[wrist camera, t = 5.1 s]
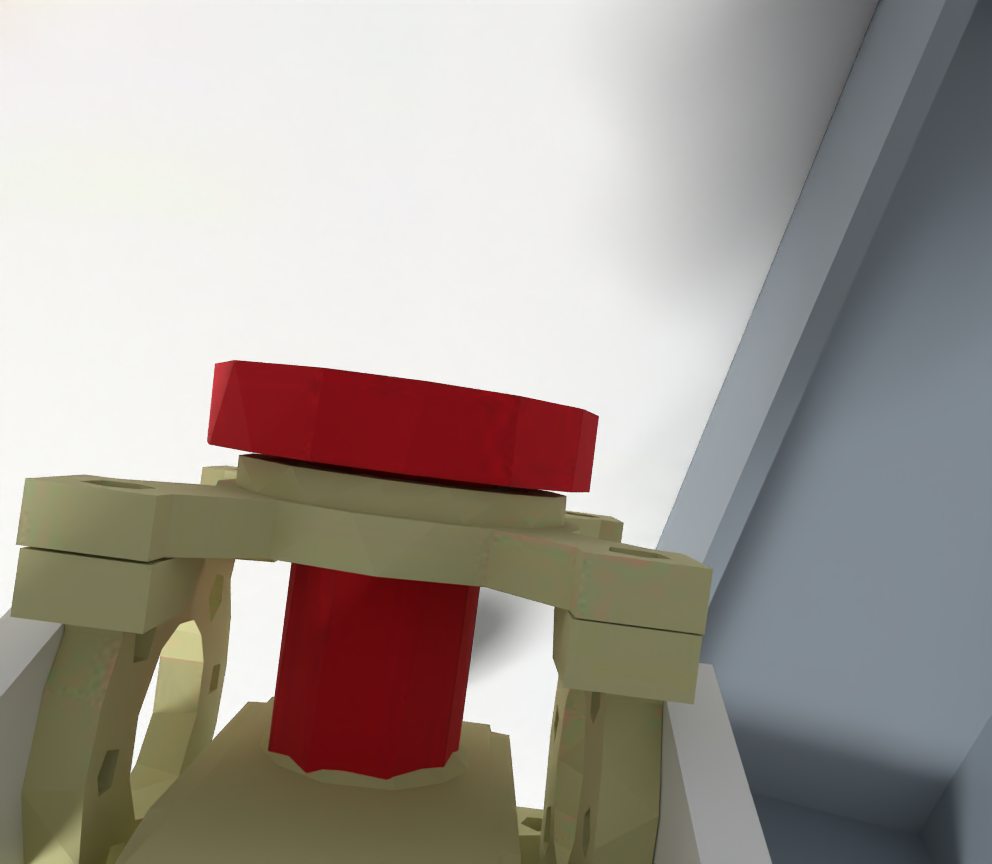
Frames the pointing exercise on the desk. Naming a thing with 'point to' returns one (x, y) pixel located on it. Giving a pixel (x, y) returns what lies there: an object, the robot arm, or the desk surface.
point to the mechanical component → (348, 637)
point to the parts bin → (865, 472)
